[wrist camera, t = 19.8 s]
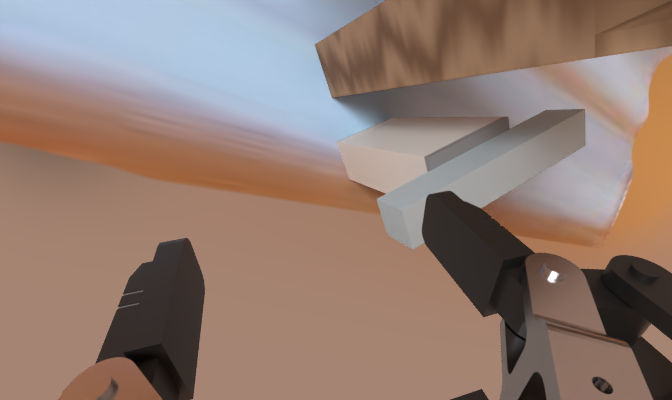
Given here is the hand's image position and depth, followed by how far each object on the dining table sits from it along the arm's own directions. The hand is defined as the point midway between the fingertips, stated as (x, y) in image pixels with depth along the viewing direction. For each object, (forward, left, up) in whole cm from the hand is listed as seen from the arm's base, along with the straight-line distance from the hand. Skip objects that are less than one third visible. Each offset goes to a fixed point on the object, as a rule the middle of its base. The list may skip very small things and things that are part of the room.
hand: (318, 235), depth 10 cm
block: (+8, +19, -32) cm, 38 cm away
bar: (+8, +19, -12) cm, 24 cm away
